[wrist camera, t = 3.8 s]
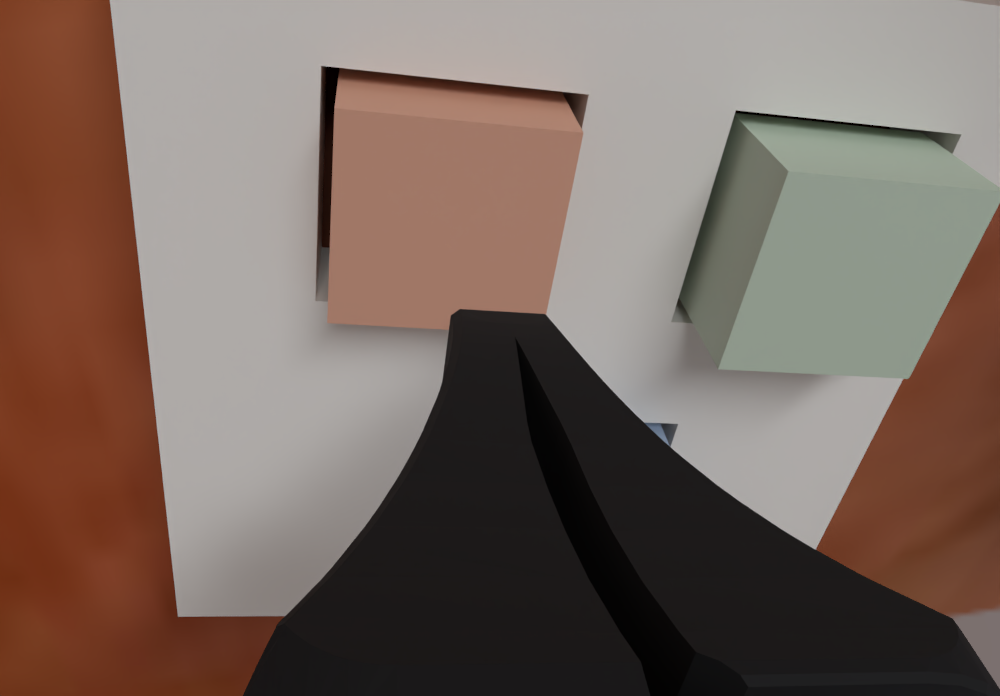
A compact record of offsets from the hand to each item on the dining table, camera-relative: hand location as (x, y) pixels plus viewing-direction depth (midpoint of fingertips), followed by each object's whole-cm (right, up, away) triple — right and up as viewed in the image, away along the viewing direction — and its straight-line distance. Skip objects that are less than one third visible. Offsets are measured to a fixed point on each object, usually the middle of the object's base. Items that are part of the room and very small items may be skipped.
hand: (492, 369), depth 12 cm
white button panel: (+1, +1, +10) cm, 10 cm away
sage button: (+7, +3, +7) cm, 10 cm away
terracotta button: (-1, +4, +6) cm, 8 cm away
